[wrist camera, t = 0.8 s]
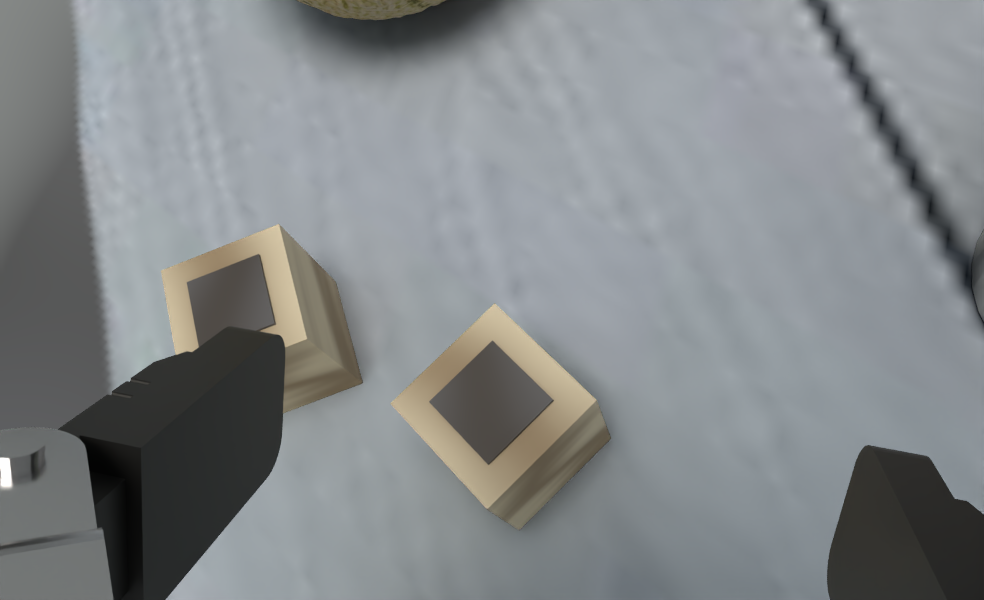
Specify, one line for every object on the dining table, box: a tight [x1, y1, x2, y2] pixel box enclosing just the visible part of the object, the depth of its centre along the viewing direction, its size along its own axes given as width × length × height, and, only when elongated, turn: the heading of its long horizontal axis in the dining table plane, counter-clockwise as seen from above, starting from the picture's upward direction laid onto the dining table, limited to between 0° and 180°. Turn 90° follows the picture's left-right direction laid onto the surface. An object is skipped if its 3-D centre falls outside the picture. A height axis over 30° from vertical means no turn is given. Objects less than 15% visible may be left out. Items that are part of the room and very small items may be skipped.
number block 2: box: [390, 303, 611, 530], centre depth 32 cm, size 5×5×6 cm
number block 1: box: [161, 224, 363, 413], centre depth 35 cm, size 5×5×6 cm
